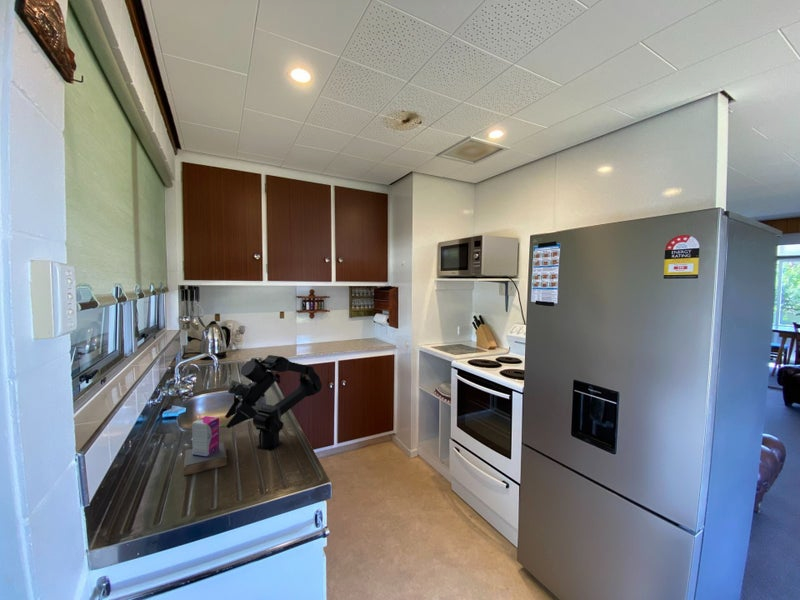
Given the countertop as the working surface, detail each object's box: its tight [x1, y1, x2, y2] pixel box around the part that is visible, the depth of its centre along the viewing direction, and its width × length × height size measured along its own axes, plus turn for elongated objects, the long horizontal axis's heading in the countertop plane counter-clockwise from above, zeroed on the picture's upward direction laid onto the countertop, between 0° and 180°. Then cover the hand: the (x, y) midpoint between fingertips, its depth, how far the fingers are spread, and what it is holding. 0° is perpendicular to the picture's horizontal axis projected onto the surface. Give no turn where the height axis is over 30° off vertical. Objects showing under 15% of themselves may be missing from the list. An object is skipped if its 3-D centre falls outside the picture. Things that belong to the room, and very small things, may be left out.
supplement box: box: [192, 415, 220, 458], centre depth 113 cm, size 6×6×12 cm
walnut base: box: [183, 441, 228, 476], centre depth 113 cm, size 12×12×3 cm
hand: (226, 422), depth 116 cm, fingers open, 9 cm apart
